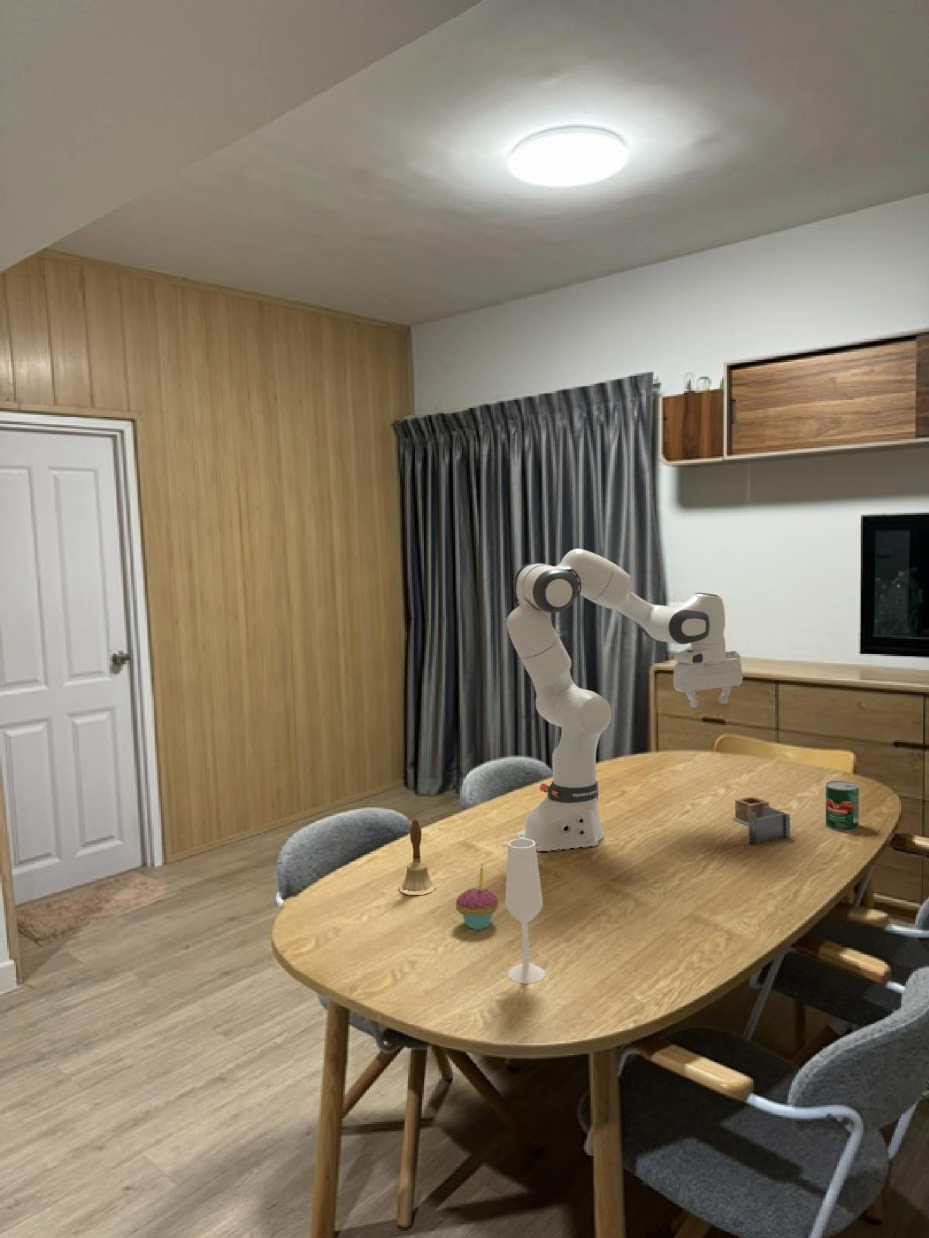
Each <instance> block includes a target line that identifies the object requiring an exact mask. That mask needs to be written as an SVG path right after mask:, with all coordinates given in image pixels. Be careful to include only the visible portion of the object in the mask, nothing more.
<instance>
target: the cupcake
mask: <svg viewBox="0 0 929 1238" xmlns="http://www.w3.org/2000/svg"><path fill="white" fill-rule="evenodd" d="M483 865H484V863H482V864H481V867H480V868H479V882H478V883H479V884H478V885H479V886H478V888H475V887H472V888H469V889H467V890H466V891H464V892H463V893H461V894H459V896H458V898H456V903H455V906H456V907H455V908H456V911H457V912H458V913H459V914H461V915H462V918H463V919H464V922H465V926H466V925H467V926H468V927H470V928H469V929H471V928H473V929H472V930H483V928H484V929H486V928H489V926H490V925H489V924H491V921H492V920H491V919H492V917H493V914H494V913H495V912H496V910H497V908H498V905H499V900H498V897H497V896H496V894H494V892H492V891H491V890H488V889H487V888H483V881H484V880H483V879H484V868H483ZM467 926H466V927H467ZM468 927H467V928H468ZM485 927H486V928H485Z"/></svg>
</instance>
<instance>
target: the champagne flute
mask: <svg viewBox="0 0 929 1238" xmlns="http://www.w3.org/2000/svg"><path fill="white" fill-rule="evenodd" d="M507 844H508V845H507V862H506V864H507V865H506V879H505V880H506V881H505V882H506V883H505V896H504V897H505V899H504V900H505V901H504V905H505V908H506V910H507V912H508V913H509V914H510V915H511V916H512V917H513V918H514V919H515V920H517V921H518V922H520V924H521V948H522V950H521V951H522V963H520V964H518V965H516V966H514V967H511V968H510V969H509V970H508V972H507V976H508V979H510V980H511V981H513V982H515V983H519V984H525V985H526V984H534V983H538V982H540V981H542V980H544V978H545V977H546V971H545V970H544V969H543V968H541V967H540V966H537V965H535V964H532V963H530V944H529V943H530V941H529V923H530V922H531V921H533V919H534V918H535V917H537V916H538V915H539V913H540V912H541V910H542V909H543V905H544V901H543V892H542V886H541V885H542V884H541V878H540V870H539V862H538V855H537V851H536V845H535V842H534V841H533V840H530V839H517V838H516V839H512V840H510V841H508V843H507Z"/></svg>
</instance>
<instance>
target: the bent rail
mask: <svg viewBox="0 0 929 1238" xmlns="http://www.w3.org/2000/svg"><path fill="white" fill-rule="evenodd" d="M790 819H791V815H790V814H789V813H787V812H785V811H781V810H779V809H776V808H773V807H771V806H770V805H769V806H763V817H760V818H756V813H749V827H748V844H749V845H751V846H756V845H758V844H762V843H763V842H764V843H767V842H772V841H777V840H782V839H785V838H786V840H787V839H790V838H791V836H790V835H791V822H790V821H791V820H790Z"/></svg>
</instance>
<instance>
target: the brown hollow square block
mask: <svg viewBox="0 0 929 1238" xmlns="http://www.w3.org/2000/svg"><path fill="white" fill-rule="evenodd" d="M769 804H770V802H769V801H767V800H764V799H761V798H758V797H755V796H747V797H742V798H737V799H734V808H735V809H734V810H735V811H734V812H735V813H734V815H735V816H734V817H735V818H737V819H739V820H742V821H744V822H746V823H749V813H756V818H760V817H763V806H769V807H770V805H769Z"/></svg>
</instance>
